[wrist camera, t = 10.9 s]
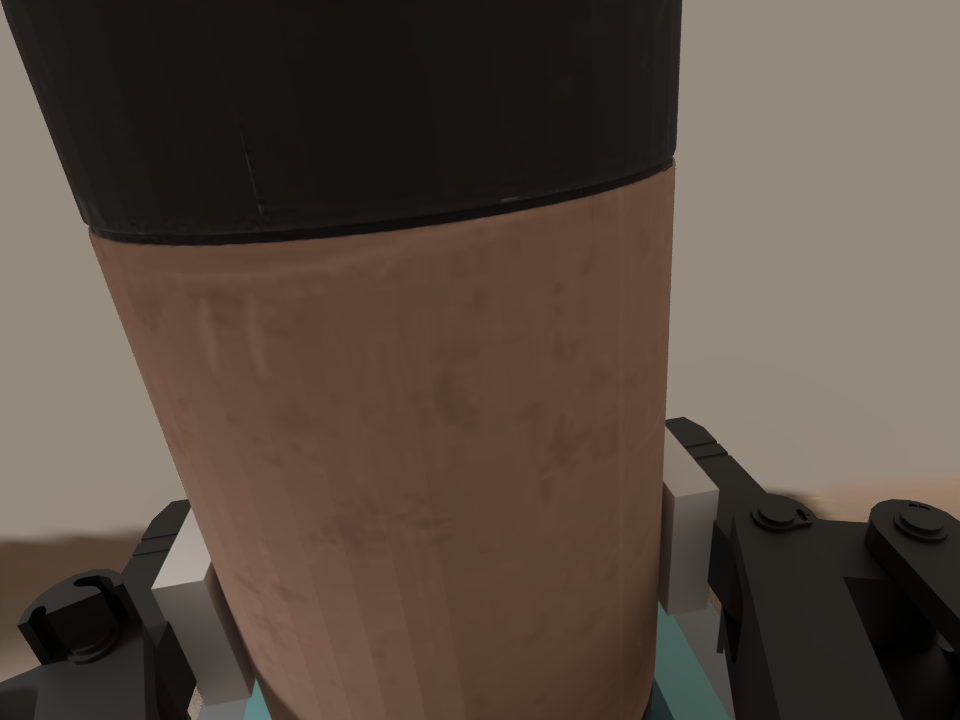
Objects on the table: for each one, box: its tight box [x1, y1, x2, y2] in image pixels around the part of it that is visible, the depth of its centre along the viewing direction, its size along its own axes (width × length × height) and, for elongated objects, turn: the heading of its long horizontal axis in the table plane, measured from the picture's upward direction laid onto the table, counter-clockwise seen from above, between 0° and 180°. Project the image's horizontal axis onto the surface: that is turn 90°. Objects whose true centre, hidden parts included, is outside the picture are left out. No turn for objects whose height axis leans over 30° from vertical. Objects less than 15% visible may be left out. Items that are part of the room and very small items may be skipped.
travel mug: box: [1, 0, 682, 720], centre depth 11 cm, size 8×8×20 cm
